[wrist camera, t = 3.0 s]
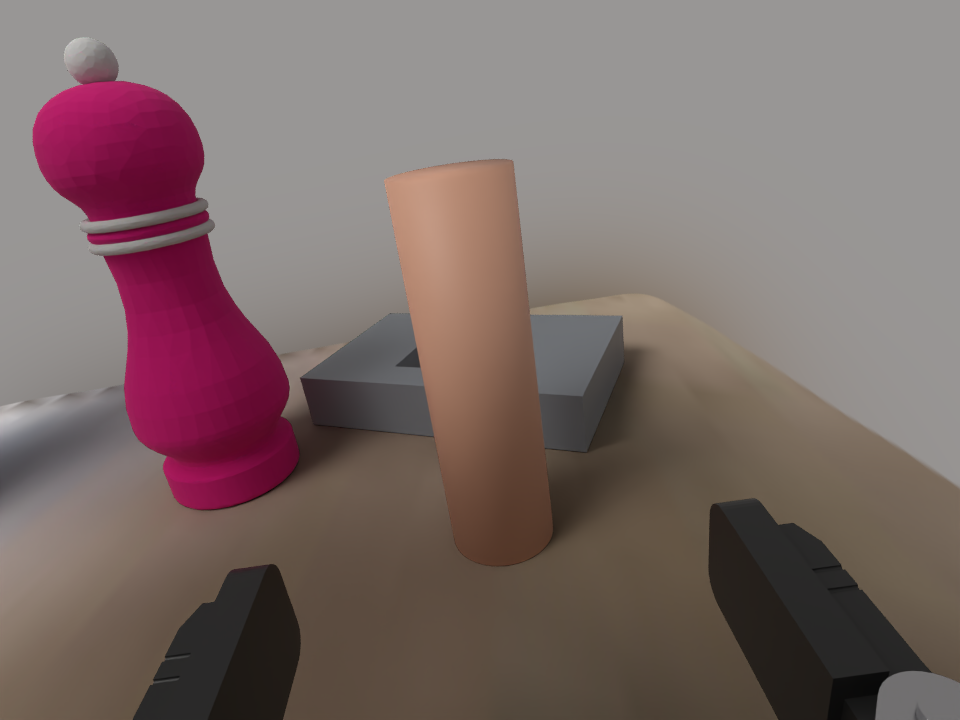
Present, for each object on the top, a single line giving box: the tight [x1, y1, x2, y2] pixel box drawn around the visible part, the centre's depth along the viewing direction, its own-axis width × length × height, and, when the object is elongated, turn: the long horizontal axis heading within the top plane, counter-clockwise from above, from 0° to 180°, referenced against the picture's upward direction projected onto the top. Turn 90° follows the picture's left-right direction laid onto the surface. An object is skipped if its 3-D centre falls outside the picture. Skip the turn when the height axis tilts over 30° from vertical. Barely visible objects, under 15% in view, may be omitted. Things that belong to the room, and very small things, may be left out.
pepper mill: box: [33, 37, 300, 510], centre depth 27 cm, size 7×7×20 cm
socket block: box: [300, 313, 624, 452], centre depth 35 cm, size 16×10×3 cm, turn 67°
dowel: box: [384, 159, 553, 566], centre depth 21 cm, size 4×4×14 cm
